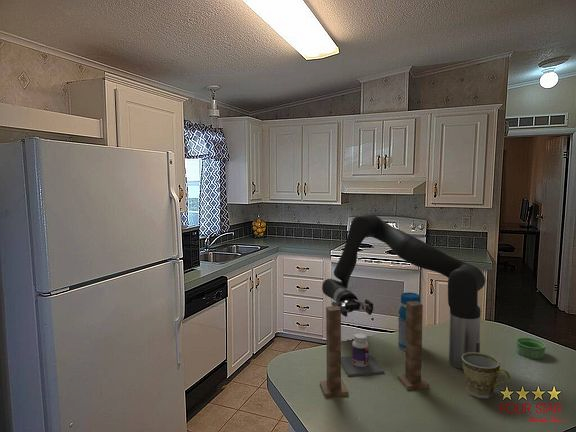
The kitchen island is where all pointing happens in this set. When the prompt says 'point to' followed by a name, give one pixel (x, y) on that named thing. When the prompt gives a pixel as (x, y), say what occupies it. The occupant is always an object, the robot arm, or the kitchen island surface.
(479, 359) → the ceramic cup
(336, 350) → the walnut post
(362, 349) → the pill bottle
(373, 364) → the charcoal mat
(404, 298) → the beverage bottle
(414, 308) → the walnut post
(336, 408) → the kitchen island surface
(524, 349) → the ramekin
